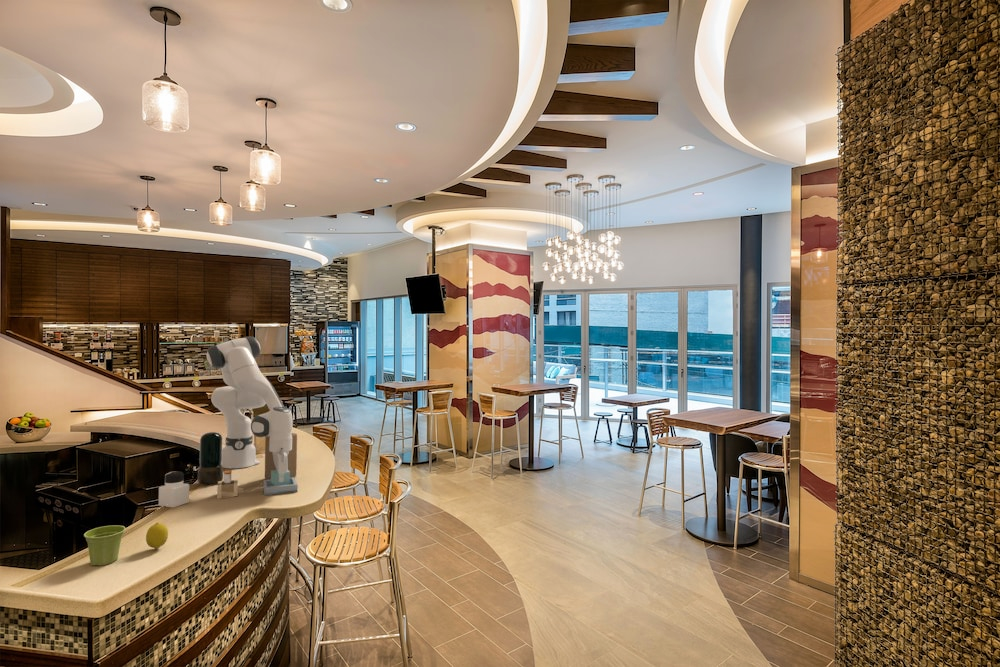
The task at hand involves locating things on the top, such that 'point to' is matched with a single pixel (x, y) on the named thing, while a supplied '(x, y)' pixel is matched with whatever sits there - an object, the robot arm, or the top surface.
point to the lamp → (210, 459)
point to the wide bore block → (227, 489)
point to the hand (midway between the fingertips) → (280, 479)
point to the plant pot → (104, 544)
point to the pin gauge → (227, 476)
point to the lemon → (157, 535)
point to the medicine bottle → (174, 490)
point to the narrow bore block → (276, 478)
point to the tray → (279, 487)
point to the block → (291, 457)
